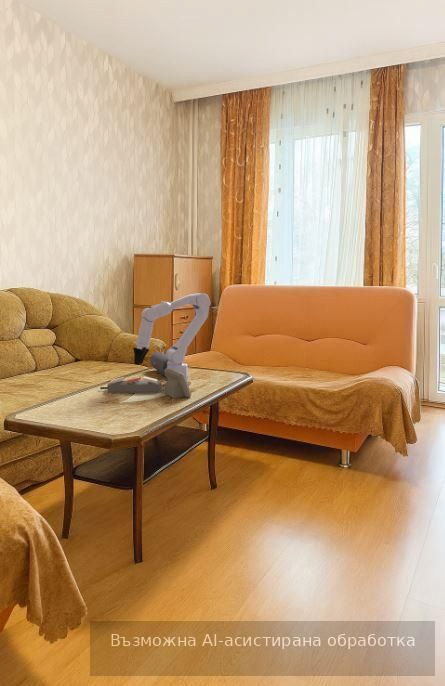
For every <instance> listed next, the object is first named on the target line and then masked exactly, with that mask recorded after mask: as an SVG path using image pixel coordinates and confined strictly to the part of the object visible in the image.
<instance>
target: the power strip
mask: <svg viewBox="0 0 445 686" xmlns="http://www.w3.org/2000/svg"><path fill="white" fill-rule="evenodd" d="M157 380H158V379H157ZM126 381H127V380H122V381H118V382H115V383H110V382H109V383H108V384H107V385H106V386H100V387H99V388H100V390H107V393H108V394H115V393H116V394H124V393H125V394H128V393H129V394H130V393H131V394H134V393H137V394H139V393H140V394H141V393H144V394H145V393H146V394H151V393H153V394H154V393H160V392H161V390H162V380H158V381H157V383H153V382H149V381H146V380H143V379H141V380H138V381H134V382H130V383H127V382H126Z"/></svg>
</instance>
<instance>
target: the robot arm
mask: <svg viewBox="0 0 445 686" xmlns="http://www.w3.org/2000/svg"><path fill="white" fill-rule="evenodd" d="M211 304H212V302H211V299H210V296H209V294H207V293H199V292H194V293H191V294H186V295H185V296H182V297H181V298H178V299H176V300H173V301H171V302H168V301H163V300H162V301H160V303H158V304H155V305H153V304H152V305H151V306H150V308H149V307H146V308H144V309H143V310H142V312H140V316H141V322H140V325H139V329H138V334H137V340H136V341H133V344H134V345H136V347H133V349H132V350H133V355H134V358H133V359H134V360H133V361H134V363H133V364H134V365H137V366H140V364H143V362H144V360H145V359H146V356H147V354H148V353H149V351H150V343H151V338H152V337H151V336H152V333H153V328H154V324H155V321H156V320H157V319H159V318H162V317H164V316H167V315H169V314H171V313H172V311H173V310H175V309H177V308H180V307H184V306H187V305H192V306H193V308H194V311H195V315H194V317H193V319H192V320H191V321H190V323H189V324H188V325H187V327H186V328H185V330H184V331H183V333H182V335H180V337H179V339H178V340H177V342H175V343H174V344H173V345H172V346H171V347H170V348H168V349H167V350H166V352H165V354H166V358H167V360H168V362H167V368H170V369H173V370H175V371H178V372H181V373H183V374H184V375H185V378H186V381H187V382H188V381H189V373H188V371H189V370H188V364H187V363H184V360H185V356H186V354H187V352H188V351H187V350H188V347H189V346H190V344H191V343H192V341H193V340H194V338H195V337H196V335H197V334H198V332H199V331H200V330H201V327H202V326H203V325H204V323H205V322H206V321H207V319H208V317H209V311H210V306H211Z"/></svg>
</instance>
